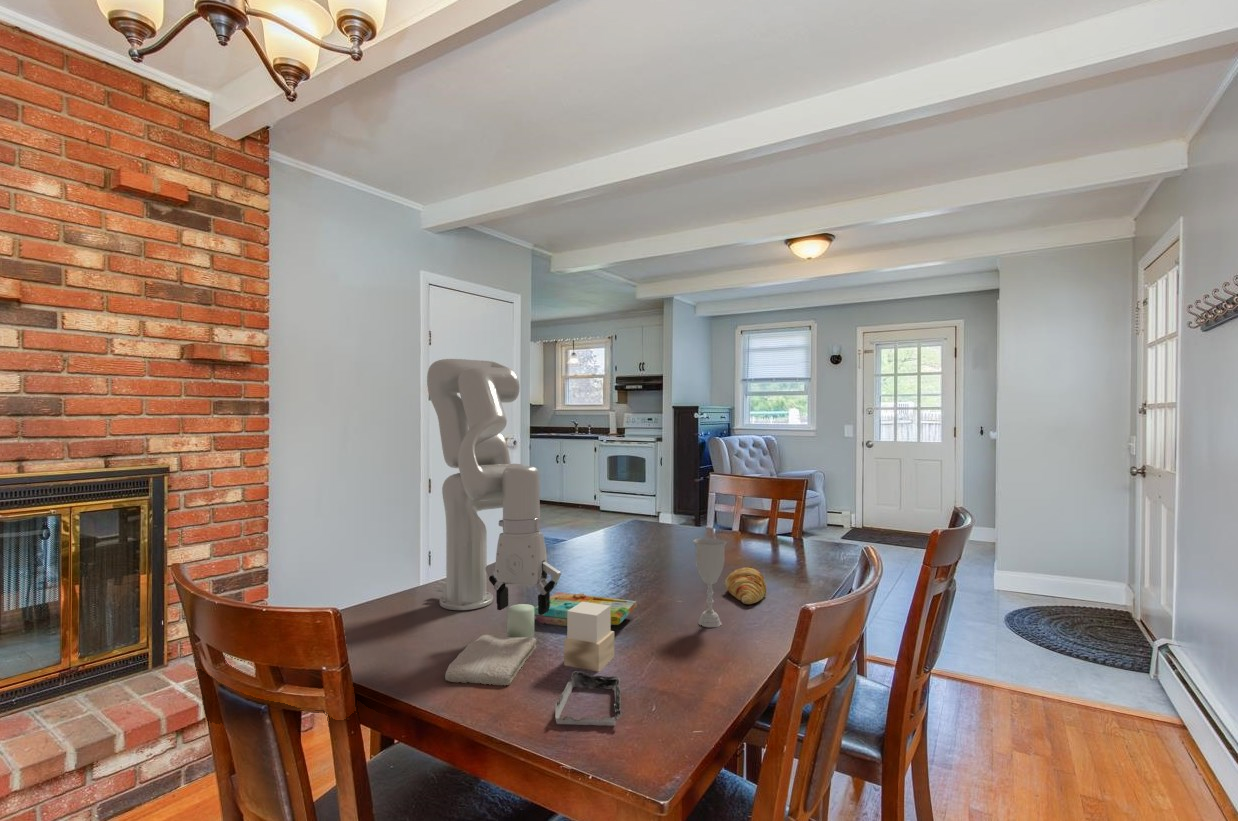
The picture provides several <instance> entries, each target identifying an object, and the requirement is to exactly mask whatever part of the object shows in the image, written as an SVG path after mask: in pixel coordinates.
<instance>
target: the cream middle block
mask: <svg viewBox="0 0 1238 821" xmlns="http://www.w3.org/2000/svg"><path fill="white" fill-rule="evenodd" d="M611 626H612V625H611V606H610V605H603V604H596V603H589V602H581V603H579V604H578V605H576V606H574V607H573V608H571V609H570V610H568V611H567V626H566V627H567V629H566V630H567V631H566V632H567V634H566V635H567V636H566V637H567V638H569V639H575V640H580V641H586V642H592V643H598V642H599V641H600V640H601V639H603V638H604V637H605V636H606V635H608V634H609V633H610V632H611V631H612V630H611V629H612V628H611Z"/></svg>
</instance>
